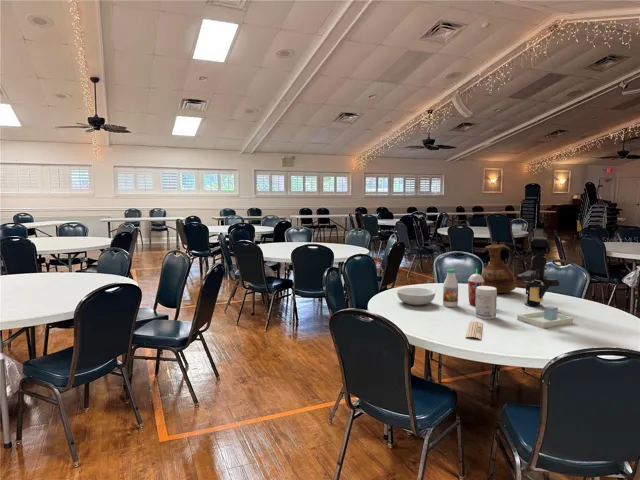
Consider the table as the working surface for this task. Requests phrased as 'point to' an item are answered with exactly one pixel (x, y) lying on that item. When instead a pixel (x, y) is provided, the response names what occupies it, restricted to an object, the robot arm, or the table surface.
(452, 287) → the milk bottle
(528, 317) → the tray
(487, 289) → the supplement tub
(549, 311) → the slate block
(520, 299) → the table surface
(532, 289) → the ochre block
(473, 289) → the smoothie
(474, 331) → the newspaper
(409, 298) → the serving bowl
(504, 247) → the ceramic pitcher
